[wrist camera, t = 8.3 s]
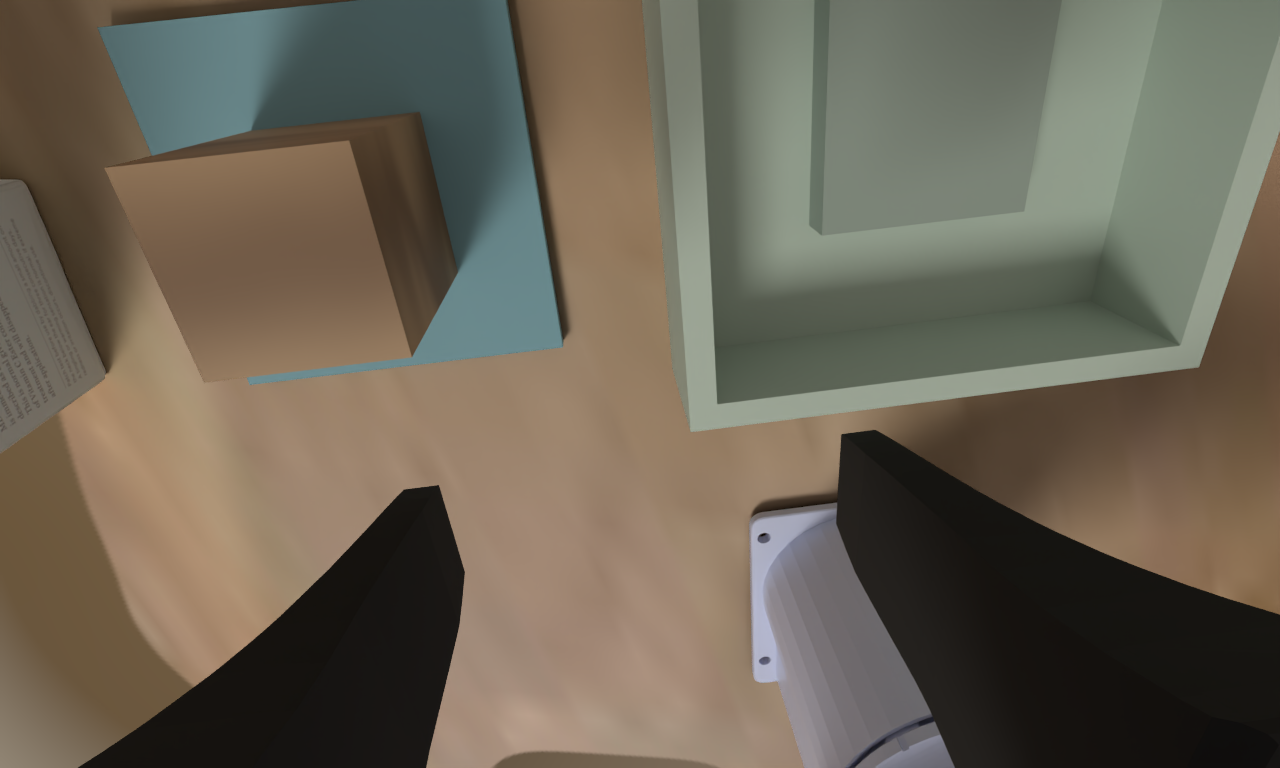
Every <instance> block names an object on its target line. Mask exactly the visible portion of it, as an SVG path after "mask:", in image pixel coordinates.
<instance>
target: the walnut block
mask: <svg viewBox="0 0 1280 768" xmlns="http://www.w3.org/2000/svg"><path fill="white" fill-rule="evenodd" d="M104 169H105V171H106V173H107V175H108V177H109V179H110V181H111V184H112V186H113V188H114V190H115V192H116V194H117V196H118V199H119V201H120V203H121V205H122V207H123V209H124V211H125V214H126V216H127V218H128V220H129V222H130V224H131V226H132V229H133V231H134V233H135V235H136V237H137V239H138V241H139V244H140V246H141V248H142V250H143V252H144V254H145V257H146V259H147V261H148V263H149V265H150V267H151V269H152V272H153V274H154V276H155V278H156V280H157V282H158V284H159V287H160V289H161V291H162V293H163V295H164V297H165V299H166V302H167V304H168V306H169V308H170V310H171V312H172V314H173V317H174V319H175V321H176V323H177V325H178V327H179V329H180V332H181V334H182V336H183V338H184V340H185V342H186V344H187V347H188V349H189V351H190V353H191V355H192V357H193V359H194V362H195V364H196V366H197V368H198V370H199V372H200V375H201V377H202V379H203V381H204V383H205V382H214V381H222V380H230V379H238V378H246V377H255V376H263V375H271V374H279V373H288V372H296V371H304V370H312V369H321V368H329V367H337V366H345V365H353V364H362V363H370V362H378V361H386V360H395V359H403V358H411V357H413V355H414V353H415V351H416V349H417V347H418V345H419V344H420V342H421V340H422V338H423V336H424V334H425V333H426V331H427V329H428V327H429V325H430V323H431V322H432V320H433V318H434V316H435V314H436V312H437V311H438V309H439V307H440V305H441V303H442V301H443V300H444V298H445V296H446V294H447V292H448V290H449V288H450V287H451V285H452V283H453V281H454V279H455V277H456V276H457V274H458V270H457V266H456V262H455V258H454V254H453V249H452V245H451V241H450V237H449V233H448V228H447V224H446V220H445V216H444V211H443V207H442V203H441V199H440V195H439V190H438V186H437V182H436V178H435V173H434V169H433V165H432V161H431V157H430V152H429V148H428V144H427V140H426V135H425V131H424V127H423V123H422V119H421V114H420V112H414V113H405V114H396V115H387V116H378V117H369V118H360V119H351V120H342V121H333V122H324V123H315V124H306V125H298V126H289V127H280V128H271V129H262V130H253V131H248V132H244V133H240V134H236V135H232V136H228V137H224V138H220V139H216V140H212V141H208V142H204V143H200V144H197V145H193V146H189V147H185V148H181V149H177V150H173V151H169V152H165V153H161V154H157V155H153V156H149V157H145V158H141V159H137V160H134V161H130V162H126V163H122V164H118V165H114V166H110V167H106V168H104Z"/></svg>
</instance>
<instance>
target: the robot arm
mask: <svg viewBox="0 0 1280 768" xmlns="http://www.w3.org/2000/svg"><path fill="white" fill-rule="evenodd" d="M762 533H767V534H766V535H765V536H762V537H760V536H759V535H760V534H762ZM749 541H750V590H751V640H752V672H753V676H754V679H755V680H756V681H757V682H761V683H766V682H774V681H778V684H779V687H780V690H781V694H782V697H783V700H784V703H785V707H786V710H787V713H788V716H789V719H790V723H791V726H792V729H793V732H794V736H795V739H796V742H797V745H798V748H799V752H800V755H801V758H802V761H803V765H804V768H1280V615H1279V614H1276V613H1273V612H1269V611H1266V610H1263V609H1259V608H1256V607H1253V606H1250V605H1246V604H1243V603H1240V602H1237V601H1233V600H1230V599H1227V598H1224V597H1221V596H1218V595H1215V594H1212V593H1209V592H1206V591H1203V590H1200V589H1197V588H1194V587H1191V586H1188V585H1185V584H1183V583H1180V582H1177V581H1174V580H1172V579H1169V578H1166V577H1164V576H1161V575H1158V574H1156V573H1153V572H1150V571H1148V570H1145V569H1142V568H1139V567H1137V566H1134V565H1132V564H1129V563H1127V562H1124V561H1122V560H1119V559H1117V558H1114V557H1112V556H1109V555H1107V554H1104V553H1102V552H1100V551H1098V550H1095V549H1093V548H1091V547H1089V546H1086V545H1084V544H1082V543H1080V542H1077V541H1075V540H1073V539H1071V538H1068V537H1066V536H1064V535H1062V534H1059V533H1057V532H1055V531H1053V530H1051V529H1049V528H1047V527H1045V526H1043V525H1041V524H1039V523H1037V522H1035V521H1033V520H1031V519H1029V518H1027V517H1025V516H1023V515H1021V514H1019V513H1017V512H1015V511H1014V510H1012V509H1010V508H1008V507H1006V506H1004V505H1002V504H1000V503H998V502H996V501H995V500H993V499H991V498H989V497H988V496H986V495H984V494H982V493H980V492H979V491H977V490H975V489H973V488H972V487H970V486H968V485H966V484H965V483H963V482H961V481H960V480H958V479H956V478H955V477H953V476H951V475H949V474H948V473H946V472H945V471H943V470H941V469H940V468H938V467H936V466H935V465H933V464H931V463H930V462H928V461H926V460H925V459H923V458H922V457H920V456H918V455H917V454H915V453H913V452H912V451H910V450H909V449H907V448H905V447H904V446H902V445H900V444H899V443H897V442H895V441H894V440H892V439H890V438H889V437H887V436H885V435H883V434H882V433H880V432H878V431H876V430H871V431H863V432H855V433H848V434H842V435H841V451H840V467H839V483H838V499H837V503H830V504H822V505H814V506H806V507H799V508H791V509H783V510H775V511H767V512H761V513H757V514H756V515H754V516H753V517H752V518H751V519H750V522H749ZM464 575H465V571H464V568H463V565H462V561H461V558H460V554H459V551H458V548H457V544H456V541H455V538H454V534H453V531H452V528H451V524H450V521H449V518H448V514H447V511H446V508H445V504H444V501H443V498H442V494H441V491H440V488H439V485H437V486H429V487H421V488H414V489H406V490H403V491H402V492H401V493H400V494H399V495H398V496H397V497H396V498H395V499H394V500H393V502H392V503H391V504H390V505H389V506H388V507H387V508H386V509H385V510H384V511H383V512H382V513H381V514H380V515H379V517H378V518H377V519H376V520H375V521H374V522H373V523H372V524H371V525H370V526H369V527H368V529H367V530H366V531H365V532H364V533H363V534H362V535H361V536H360V537H359V538H358V539H357V540H356V541H355V542H354V543H353V544H352V546H351V547H350V548H349V549H348V550H347V551H346V552H345V553H344V554H343V555H342V556H341V557H340V558H339V559H338V560H337V561H336V562H335V563H334V564H333V566H332V567H331V568H330V569H329V570H328V571H327V572H326V573H325V574H324V575H323V576H322V577H320V578H319V579H318V580H317V581H316V582H315V583H314V584H313V585H312V586H311V587H310V588H309V589H308V590H307V591H306V592H305V593H304V594H303V595H302V596H301V597H300V598H299V599H298V600H297V601H296V602H295V603H294V604H293V605H291V606H290V607H289V608H288V609H287V610H286V611H285V612H284V613H283V614H282V615H281V616H280V617H279V618H278V619H277V620H276V621H274V622H273V623H272V624H271V625H270V626H269V627H268V628H267V629H265V630H264V631H263V632H262V633H261V634H260V635H259V636H257V637H256V638H255V639H254V640H253V641H252V642H250V643H249V644H248V645H247V646H246V647H244V648H243V649H242V650H241V651H239V652H238V653H237V654H236V655H235V656H233V657H232V658H231V659H230V660H229V661H227V662H226V663H225V664H224V665H222V666H221V667H220V668H219V669H217V670H216V671H215V672H214V673H212V674H211V675H210V676H209V677H207V678H206V679H204V680H203V681H202V682H200V683H199V684H198V685H196V686H195V687H194V688H192V689H191V690H189V691H188V692H187V693H185V694H184V695H183V696H181V697H180V698H179V699H177V700H176V701H175V702H173V703H172V704H171V705H169V706H168V707H166V708H165V709H164V710H162V711H161V712H160V713H158V714H157V715H156V716H154V717H153V718H151V719H150V720H149V721H147V722H146V723H145V724H143V725H142V726H140V727H139V728H137V729H136V730H134V731H133V732H131V733H130V734H128V735H127V736H125V737H124V738H123V739H121V740H120V741H118V742H117V743H115V744H114V745H112V746H111V747H109V748H108V749H106V750H105V751H103V752H102V753H100V754H99V755H97V756H95V757H94V758H92V759H91V760H89V761H88V762H86V763H85V764H83V765H81V766H80V767H78V768H426V765H427V760H428V755H429V750H430V746H431V742H432V738H433V734H434V730H435V725H436V721H437V717H438V713H439V709H440V705H441V701H442V696H443V692H444V688H445V684H446V680H447V676H448V672H449V668H450V663H451V659H452V655H453V650H454V646H455V642H456V638H457V633H458V629H459V623H460V615H461V606H462V596H463V586H464Z"/></svg>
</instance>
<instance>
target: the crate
mask: <svg viewBox="0 0 1280 768" xmlns="http://www.w3.org/2000/svg"><path fill="white" fill-rule="evenodd" d="M642 8H643V20H644V32H645V44H646V56H647V68H648V80H649V92H650V104H651V116H652V128H653V140H654V152H655V164H656V176H657V188H658V200H659V212H660V225H661V237H662V249H663V261H664V273H665V285H666V297H667V309H668V321H669V333H670V345H671V357H672V369H673V372H674V376H675V379H676V383H677V386H678V390H679V393H680V397H681V400H682V404H683V407H684V410H685V414H686V417H687V421H688V424H689V428H690V431H691V432H695V431H703V430H711V429H719V428H727V427H734V426H742V425H750V424H758V423H766V422H774V421H781V420H789V419H797V418H805V417H813V416H821V415H828V414H836V413H844V412H852V411H860V410H868V409H875V408H883V407H891V406H899V405H907V404H915V403H922V402H930V401H938V400H946V399H954V398H962V397H969V396H977V395H985V394H993V393H1001V392H1009V391H1016V390H1024V389H1032V388H1040V387H1048V386H1056V385H1063V384H1071V383H1079V382H1087V381H1095V380H1103V379H1110V378H1118V377H1126V376H1134V375H1142V374H1150V373H1157V372H1165V371H1173V370H1181V369H1189V368H1197V367H1199V366H1200V363H1201V360H1202V357H1203V354H1204V351H1205V348H1206V345H1207V342H1208V339H1209V336H1210V333H1211V330H1212V328H1213V325H1214V322H1215V319H1216V316H1217V313H1218V310H1219V307H1220V304H1221V301H1222V298H1223V295H1224V292H1225V289H1226V287H1227V284H1228V281H1229V278H1230V275H1231V272H1232V269H1233V266H1234V263H1235V260H1236V257H1237V254H1238V251H1239V249H1240V246H1241V243H1242V240H1243V237H1244V234H1245V231H1246V228H1247V225H1248V222H1249V219H1250V216H1251V213H1252V211H1253V208H1254V205H1255V202H1256V199H1257V196H1258V193H1259V190H1260V187H1261V184H1262V181H1263V178H1264V175H1265V172H1266V170H1267V167H1268V164H1269V161H1270V158H1271V155H1272V152H1273V149H1274V146H1275V143H1276V140H1277V137H1278V134H1279V132H1280V0H642Z"/></svg>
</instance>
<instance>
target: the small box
mask: <svg viewBox="0 0 1280 768" xmlns="http://www.w3.org/2000/svg"><path fill="white" fill-rule="evenodd" d="M105 374H106V370H105V368H104V366H103V364H102V361H101V359H100V357H99V354H98V352H97V350H96V347H95V345H94V343H93V340H92V338H91V336H90V333H89V331H88V328H87V326H86V324H85V321H84V319H83V317H82V314H81V312H80V310H79V307H78V305H77V303H76V300H75V298H74V295H73V293H72V291H71V288H70V286H69V283H68V281H67V278H66V276H65V274H64V271H63V269H62V266H61V264H60V261H59V258H58V256H57V254H56V251H55V249H54V247H53V244H52V242H51V240H50V237H49V235H48V232H47V230H46V228H45V225H44V223H43V221H42V219H41V217H40V214H39V212H38V210H37V207H36V205H35V202H34V200H33V198H32V196H31V194H30V192H29V189H28V187H27V185H26V184H25V183H24V182H23V181H21V180H12V179H0V453H2V452H3V451H5V450H6V449H8V448H9V447H10V446H12V445H13V444H14V443H16V442H17V441H18V440H19V439H21V438H23V437H24V436H26V435H27V434H29V433H30V432H32V431H33V430H34V429H36V428H37V427H38V426H40V425H41V424H42V423H44V422H45V421H47V420H48V419H49V418H51V417H52V416H54V415H55V414H57V413H58V412H60V411H61V410H62V409H64V408H65V407H67V406H68V405H69V404H71V403H72V402H73V401H75V400H76V399H77V398H79V397H80V396H82V395H83V394H85V393H86V392H88V391H89V390H90V389H92V388H93V387H95V386H96V385H97V384H99V383H100V382H102V381H103V379H104V378H105Z"/></svg>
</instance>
